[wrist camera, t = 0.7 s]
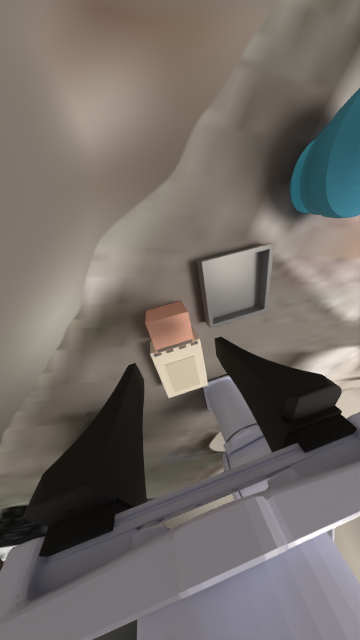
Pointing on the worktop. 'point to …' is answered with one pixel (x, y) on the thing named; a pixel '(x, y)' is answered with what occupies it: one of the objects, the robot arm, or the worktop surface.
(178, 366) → the block
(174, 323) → the stub
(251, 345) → the worktop surface
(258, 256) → the tray
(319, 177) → the perfume bottle
